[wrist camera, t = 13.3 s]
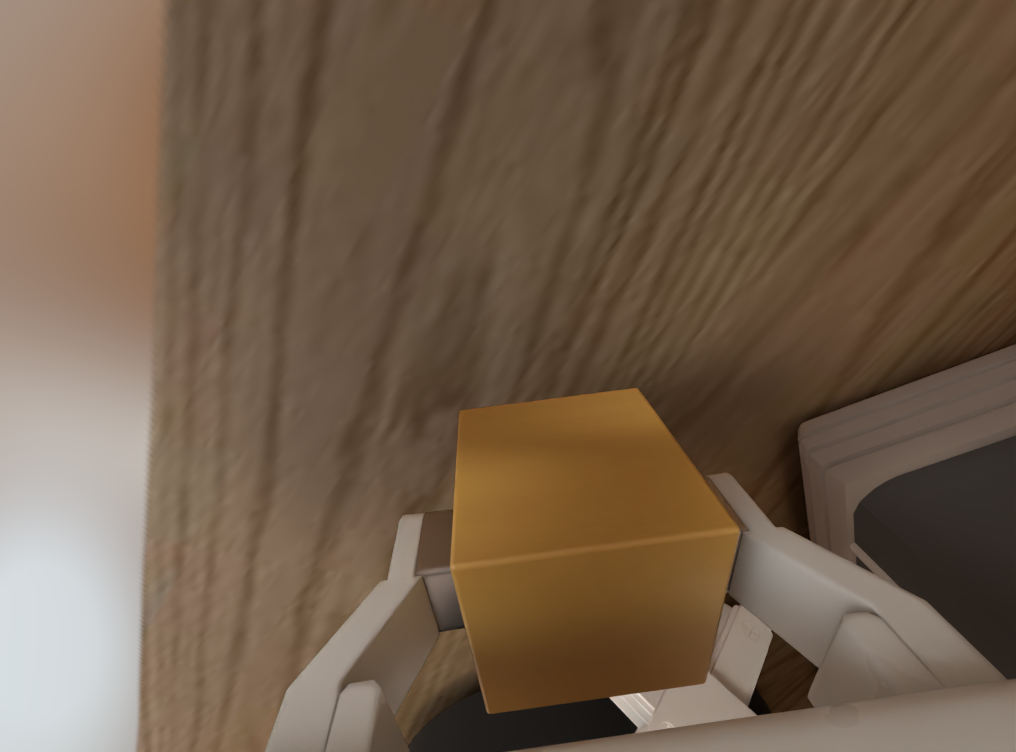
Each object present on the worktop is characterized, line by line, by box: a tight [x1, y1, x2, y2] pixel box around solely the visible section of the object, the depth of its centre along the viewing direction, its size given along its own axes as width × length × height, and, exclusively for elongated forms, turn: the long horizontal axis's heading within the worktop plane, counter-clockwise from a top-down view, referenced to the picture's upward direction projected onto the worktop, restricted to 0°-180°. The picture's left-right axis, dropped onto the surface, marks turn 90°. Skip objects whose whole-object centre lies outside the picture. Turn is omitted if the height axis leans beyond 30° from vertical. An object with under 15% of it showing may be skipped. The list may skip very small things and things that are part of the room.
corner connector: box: [609, 604, 773, 733], centre depth 18 cm, size 8×8×2 cm
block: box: [450, 388, 740, 714], centre depth 9 cm, size 4×4×4 cm
